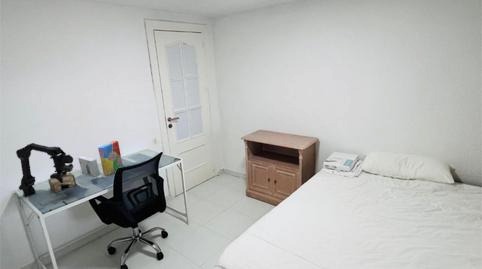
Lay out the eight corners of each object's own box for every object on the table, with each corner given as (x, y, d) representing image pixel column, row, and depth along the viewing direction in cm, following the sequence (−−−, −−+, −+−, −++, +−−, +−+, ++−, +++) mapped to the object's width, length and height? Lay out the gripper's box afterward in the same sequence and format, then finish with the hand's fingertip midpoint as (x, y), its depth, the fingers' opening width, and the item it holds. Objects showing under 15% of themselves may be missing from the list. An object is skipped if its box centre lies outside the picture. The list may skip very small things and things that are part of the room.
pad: (42, 205, 181) (42, 205, 181) (39, 202, 185) (39, 202, 185) (67, 196, 193) (67, 195, 193) (64, 193, 197) (64, 193, 197)
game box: (108, 175, 227) (102, 147, 219) (103, 175, 228) (97, 147, 220) (123, 166, 246) (118, 140, 238) (118, 166, 247) (113, 140, 239)
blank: (70, 183, 193) (68, 176, 191) (52, 184, 192) (50, 177, 190) (73, 181, 197) (72, 174, 195) (55, 182, 196) (53, 175, 194)
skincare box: (81, 172, 235) (77, 157, 230) (86, 170, 239) (83, 155, 235) (94, 176, 225) (91, 160, 221) (100, 174, 230) (96, 158, 225)
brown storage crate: (54, 192, 199) (51, 182, 196) (50, 189, 204) (47, 179, 202) (76, 185, 211) (73, 175, 208) (72, 182, 216) (70, 172, 213)
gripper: (63, 167, 182) (68, 186, 186) (75, 158, 199) (79, 175, 204) (47, 168, 180) (52, 187, 185) (60, 159, 198) (65, 176, 202)
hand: (63, 181), depth 194 cm, fingers closed on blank, 4 cm apart
